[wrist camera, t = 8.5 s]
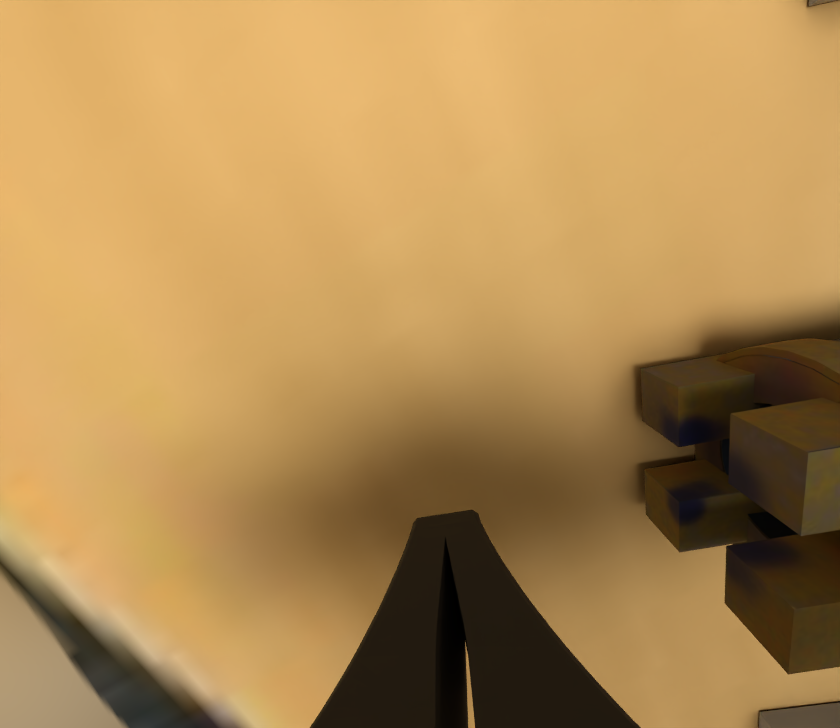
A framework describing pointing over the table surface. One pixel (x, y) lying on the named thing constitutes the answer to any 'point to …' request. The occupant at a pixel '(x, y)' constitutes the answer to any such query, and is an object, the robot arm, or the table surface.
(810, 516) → the pipe connector
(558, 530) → the table surface
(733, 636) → the table surface
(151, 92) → the table surface
